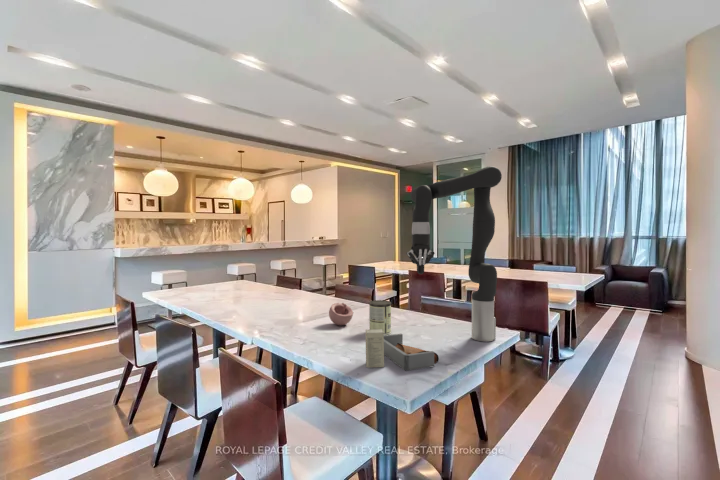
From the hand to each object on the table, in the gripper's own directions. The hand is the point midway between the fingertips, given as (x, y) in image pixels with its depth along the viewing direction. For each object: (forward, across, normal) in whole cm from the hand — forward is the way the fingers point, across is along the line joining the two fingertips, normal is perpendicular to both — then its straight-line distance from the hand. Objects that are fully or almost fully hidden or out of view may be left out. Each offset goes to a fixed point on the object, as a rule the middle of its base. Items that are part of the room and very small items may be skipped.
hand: (420, 273), depth 150 cm
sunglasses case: (+30, +14, +17) cm, 37 cm away
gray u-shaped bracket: (+29, +15, +14) cm, 36 cm away
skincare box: (+29, +29, +18) cm, 45 cm away
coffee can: (+29, +10, -19) cm, 36 cm away
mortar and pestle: (+29, +23, -38) cm, 53 cm away
